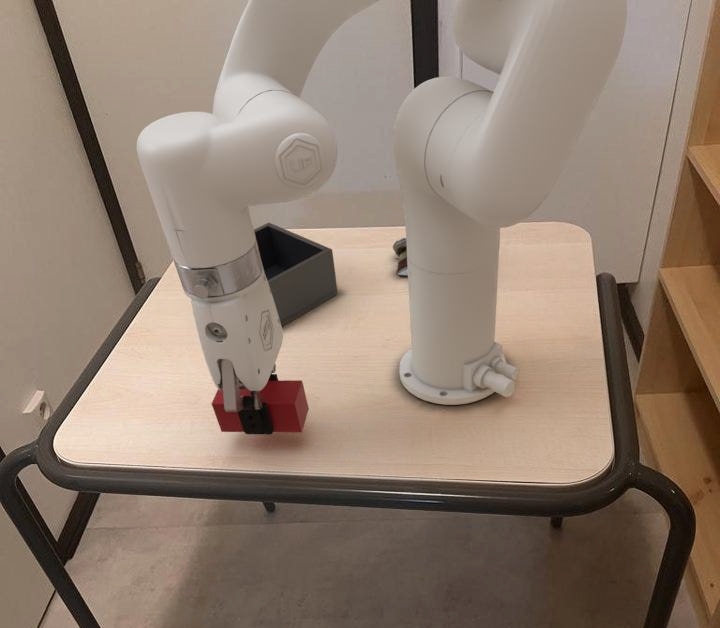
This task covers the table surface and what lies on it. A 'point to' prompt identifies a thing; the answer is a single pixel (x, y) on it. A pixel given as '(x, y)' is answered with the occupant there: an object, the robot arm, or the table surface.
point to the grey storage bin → (295, 271)
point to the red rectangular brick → (270, 407)
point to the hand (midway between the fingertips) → (264, 416)
